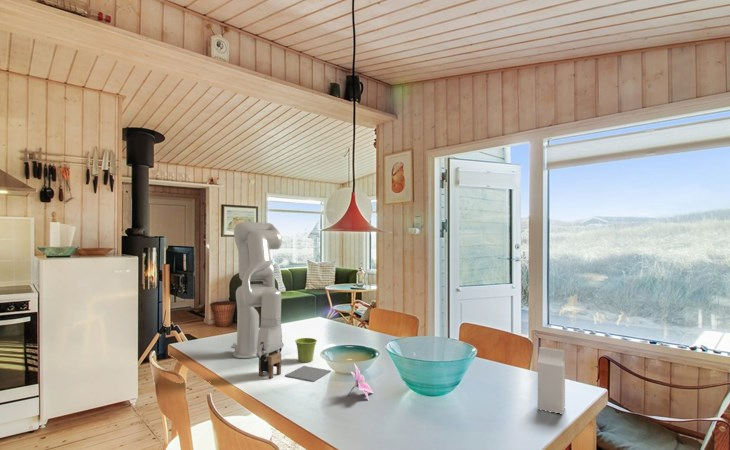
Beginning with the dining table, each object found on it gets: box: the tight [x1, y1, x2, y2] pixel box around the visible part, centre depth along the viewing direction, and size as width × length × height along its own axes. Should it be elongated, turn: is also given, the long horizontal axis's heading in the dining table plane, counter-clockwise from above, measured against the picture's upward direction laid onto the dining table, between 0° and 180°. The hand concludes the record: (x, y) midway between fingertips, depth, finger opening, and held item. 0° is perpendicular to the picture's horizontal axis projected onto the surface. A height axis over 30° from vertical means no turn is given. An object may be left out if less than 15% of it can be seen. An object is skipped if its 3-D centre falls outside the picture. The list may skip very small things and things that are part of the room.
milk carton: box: [537, 346, 566, 415], centre depth 129 cm, size 7×7×19 cm
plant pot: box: [294, 337, 318, 363], centre depth 175 cm, size 9×9×9 cm
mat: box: [284, 365, 332, 383], centre depth 158 cm, size 13×13×1 cm
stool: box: [258, 352, 282, 380], centre depth 156 cm, size 6×6×8 cm
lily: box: [347, 362, 374, 401], centre depth 137 cm, size 12×12×10 cm
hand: (270, 368), depth 156 cm, fingers closed on stool, 6 cm apart
